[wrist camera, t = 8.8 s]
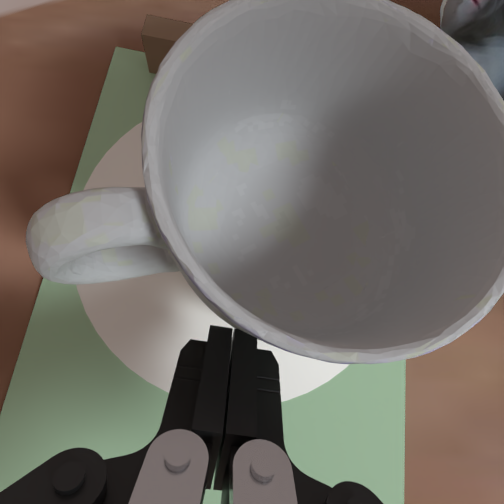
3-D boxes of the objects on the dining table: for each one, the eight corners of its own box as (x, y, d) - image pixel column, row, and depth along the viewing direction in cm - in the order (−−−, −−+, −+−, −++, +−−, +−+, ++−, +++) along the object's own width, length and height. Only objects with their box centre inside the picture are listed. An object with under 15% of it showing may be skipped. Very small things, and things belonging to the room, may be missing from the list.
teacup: (369, 132, 19) (478, -19, 11) (422, 341, 16) (616, 329, 8) (94, 147, 17) (-3, -25, 9) (99, 389, 14) (-33, 432, 6)
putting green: (406, 107, 20) (433, 73, 17) (398, 767, 12) (444, 869, 10) (116, 49, 19) (103, 5, 16) (-98, 736, 11) (-183, 843, 9)
